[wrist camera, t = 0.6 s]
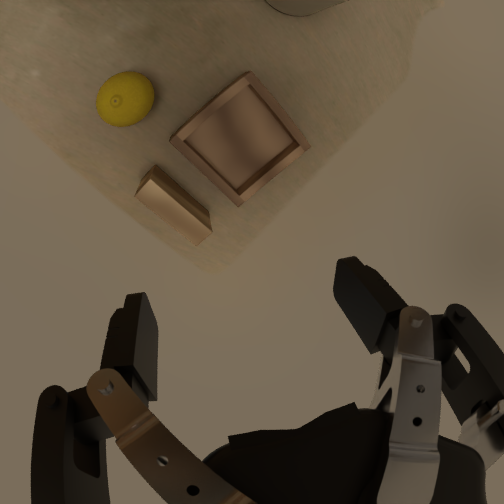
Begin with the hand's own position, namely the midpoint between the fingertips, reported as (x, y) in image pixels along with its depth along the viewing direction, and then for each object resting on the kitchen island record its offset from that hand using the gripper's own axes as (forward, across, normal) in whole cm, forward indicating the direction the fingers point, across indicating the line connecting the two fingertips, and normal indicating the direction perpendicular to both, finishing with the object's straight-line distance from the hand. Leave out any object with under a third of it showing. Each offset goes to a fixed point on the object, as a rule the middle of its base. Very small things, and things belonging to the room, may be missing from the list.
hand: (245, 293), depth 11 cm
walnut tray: (+23, -4, -3) cm, 24 cm away
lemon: (+22, +7, -10) cm, 25 cm away
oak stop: (+23, +4, +3) cm, 24 cm away
